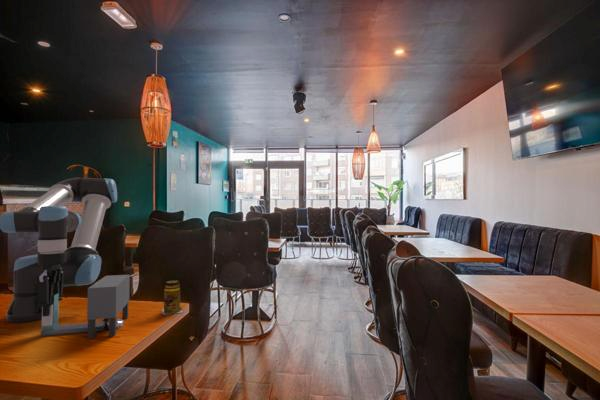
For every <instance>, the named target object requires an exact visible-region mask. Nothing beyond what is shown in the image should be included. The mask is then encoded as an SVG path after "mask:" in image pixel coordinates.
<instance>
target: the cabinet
mask: <svg viewBox="0 0 600 400" xmlns="http://www.w3.org/2000/svg"><path fill="white" fill-rule="evenodd" d="M130 276H131V275H130V274H117V275H116V274H114V275H105V276H104V277H102V278H101V279H99V280H97V282H96V281H95V282H94V283H92V285H90V286H89V287H87V302H86V303H87V307H86V310H87V311H86V314H87V315H86V320H87V323H88V332H87V339H89V340H90V339H94V338H95V337H96V331H95V322H97V320H102V319H103V321H109V329H108V330H109V331H108V337H115V336H116V335H117V329H116V319H117V317H118V316H119V314H120V313H121V311H122V314H121V315H122V318H121V319H123V320H124V319H128V318H129V302H130V289H131V288H130V285H131V284H130V283H131V281H130V280H131V279H130V278H131V277H130Z"/></svg>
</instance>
